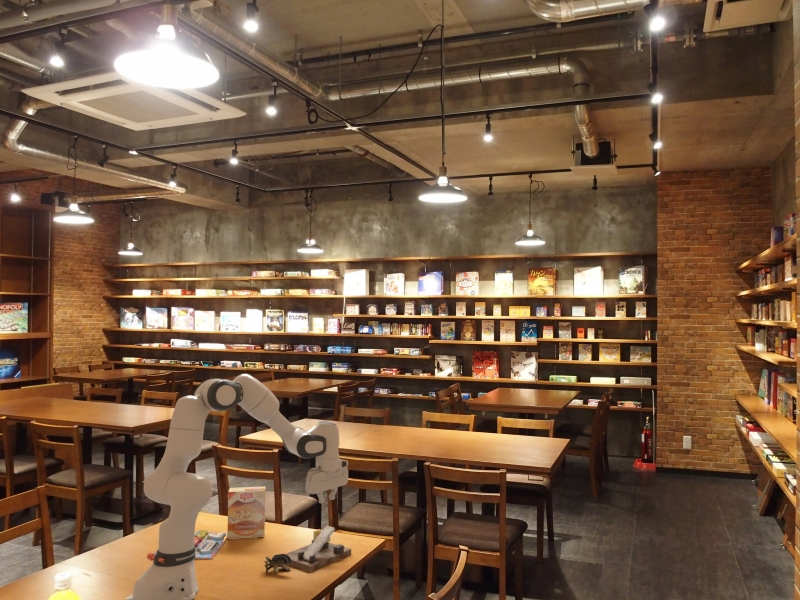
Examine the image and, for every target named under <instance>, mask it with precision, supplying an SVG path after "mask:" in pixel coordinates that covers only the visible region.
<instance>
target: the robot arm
mask: <svg viewBox="0 0 800 600" xmlns="http://www.w3.org/2000/svg"><path fill="white" fill-rule="evenodd" d="M236 405H238V406H240V407H241V408H242V410H244V411H245V412H246V413H247V414H248V415H249V416H251V417H253V419H256V420H257V421H259V422H260V423H263V424H265V425H267V426H268V427H269V428H270V429H271V430H272V431H273V432H275V433H276V435H277V436H278V437H280V438H281V439H280V440H281V442H282V443H283V446H284V447H285V450H286V451H287V452H288V453H290V454H293V455H296V456H297V457H300V458H302V459H314V458H315V467H311V468H310V469H309V470H308V472H307V475H306V480H305V487H304V488H305V490H304V491H305V493H306V494H307V495H308V494H309V495H315V494H316V496H317V498H318V503H319V504H323V503H326V498H325V497H324V496H323V495H324V492H325V491H329V490H330V494H329V495H328V499H329V501H333V500H335V499H336V494H337V491H338V488H339V487H343V486H346V485H347V484H348V481H349V469H348V466H349V461H348V460H345V459H341V458H340V453H339V447H340V432H339V431H340V430H339V426H338V425H337V424H336V423H334V422H330V421H327V420H326V421H325V420H324V421H323V420H322V421H321V420H320V421H318V422H317V423H316V424H315V425H314V426H312V427H311V428H310V429H307V430H305V429H304V428H302V427H298V426H295V425H293V424H292V423H291V422H290V421H289V420H288V419H287V418H286V417H285V416H284V415H283V414H282V413H281V412H280V401H279V400H278V398H277V397H276V395H275V394H274V393H273V392H272V391H271V390H270V389H269V388H268V387H267V386H266V385H265V384H264V383H262V382H261V381H259V380H258V379H257V378H256V377H254V376H252V375H250V374H248V373H241V374H239V375H237V376H236V377H235V378H233V380H230V379H222V378H210V379H205V380H203V381H202V382H200V384H199V385H197V387H195V390H194V391H193V392H192V393H191V395H185V396H181V397H180V398H179V399H178V400H177V401H176V404H175V406H174V409H173V412H172V415H171V420H170V423H169V424H170V425H169V430H168V437H167V442H166V447H165V451H164V454H163V457H162V458H161V460H160V462H159V464H158V465H157V466H156V468H155V469H153V471H151V472H150V473H149V474H148V475H147V476H146V478H145V480H144V483H143V493H144V495H145V496H146V497H147V499H150V500H151V501H153V502H155V503H158V504H163V505H168V506H170V512H169V515H168V517H167V518H166V519H164V520H163V521H162V522H160V525H159V527H158V549H157V550H156V551H157V552H156V551H155V552H156V555H155V554H154V553H153V552H148V553H147V554H146V559H147V560H149V561H152V564H150V566H148V568H147V569H146V570H145V571H144V572H143V573H141V575H140V576H139V577H138V578H137V579H136V580H135V583H134V586H133V590H132V591H133V592H132V594H131V595H128V596H126V597H125V599H124V600H194V599H195V598H196V594H197V593H198V592H199V586H198V582H197V581H198V580H197V577H196V569H195V545H194V534H195V532H196V522H197V518H198V515H199V513H200V512H201V510H202V509H203V508H204V507H205V506H206V505H207V504H208V503H209V502H210V501H211V498H212V496H213V484H212V482H211V481H210V480H209V479H208V478H206V477H204V476H203V475H200V474H198V473H192V472H187V471H188V467H189V465H190V463H191V462H192V460H194V459H196V458H197V457H199V455H200V454H201V452H202V445H203V439H204V432H205V426H206V425H205V424H206V420H207V417H208V415H209V414H210V412H226V411H228V410H230V409H232V408H233V407H235V406H236Z"/></svg>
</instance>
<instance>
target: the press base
mask: <svg viewBox="0 0 800 600" xmlns="http://www.w3.org/2000/svg"><path fill="white" fill-rule="evenodd" d="M314 541H315V540H314V539H312V540H311V543H310V544H307V545H305V546H303V547H300V548H297V549H295V550H292V551H290V552H286V553H285V554H286V555H288V556H289V557H290V558H291V560H292V561H291V563H290V564H287V565H288V566H291V567H294V568H297V567H298V568H297V569H300V568H301V570H303V571H306V572H309V573H311V572H314V571H316V570H318V569H320V568H322V567H325V566H327V565H330V564H332V563H335V562H337V561H339V560H341V559H344V558H346V557H348V556H350V555H352V548H350V547H346V546H345V545H344V544H340V543H339V544H335V543H332V542H330V541H329V542H327V543H325V544H324V545H323V546H322V548H321V549H320V550H319V552H318V553H317V554H316V555H311V556H309V561H306V560H303V559H302V556H303V554H304V553H305V552H306V551H307V549H308V548H309V547H310V546H311V544H312V543H313V542H314Z"/></svg>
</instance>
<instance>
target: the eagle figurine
mask: <svg viewBox="0 0 800 600" xmlns="http://www.w3.org/2000/svg"><path fill="white" fill-rule="evenodd" d="M286 554H287V553H280V554H275V555H273V556H272V557H271V558H270V557H269V556H265V560H266V561H265V560H264V561H263V562H264V564H265V565H264V567H265V573H267V572H268V571H269V570H271V569H273V570H274V571H275V572H276V575H279V569H278V568H282V569H284V570H287V572H288V571H289V572H290V571H291V570H290V569H291V568H290V567H288V566H287V565H288V564H290V563H291V561H292V560H291V558H290V557H289V556H288V555H286Z"/></svg>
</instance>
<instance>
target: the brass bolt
mask: <svg viewBox="0 0 800 600" xmlns="http://www.w3.org/2000/svg"><path fill="white" fill-rule="evenodd" d="M321 532H322V529H320V528H319V529H316V530H313V540H315V539H316V538H317V537H318V535H319V534H320V533H321ZM327 542H329V543H330V542H331V536H330V537H329V539H328V540H327V541H326V542H325V543H327Z"/></svg>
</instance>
